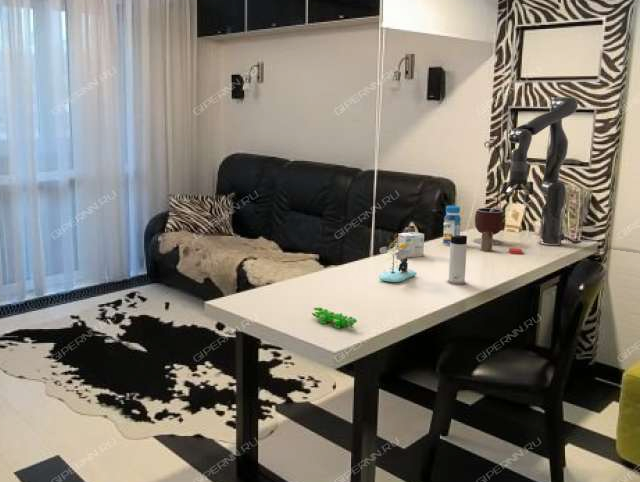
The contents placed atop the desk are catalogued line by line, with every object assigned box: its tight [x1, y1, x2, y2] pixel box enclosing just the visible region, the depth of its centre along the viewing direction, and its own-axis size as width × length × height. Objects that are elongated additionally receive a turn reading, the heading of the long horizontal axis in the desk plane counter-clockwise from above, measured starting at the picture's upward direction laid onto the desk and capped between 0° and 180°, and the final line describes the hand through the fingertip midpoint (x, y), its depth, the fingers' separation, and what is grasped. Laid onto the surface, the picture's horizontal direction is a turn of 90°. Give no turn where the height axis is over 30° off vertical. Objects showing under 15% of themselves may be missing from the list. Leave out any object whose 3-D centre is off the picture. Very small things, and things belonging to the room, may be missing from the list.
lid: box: [508, 247, 523, 255], centre depth 296 cm, size 6×6×2 cm
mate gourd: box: [474, 206, 504, 246], centre depth 317 cm, size 16×14×20 cm
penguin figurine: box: [378, 243, 417, 283], centre depth 253 cm, size 20×11×15 cm, turn 133°
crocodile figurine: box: [311, 306, 358, 329], centre depth 202 cm, size 7×18×4 cm, turn 44°
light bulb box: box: [397, 231, 425, 258], centre depth 291 cm, size 11×7×11 cm, turn 108°
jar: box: [480, 231, 494, 252], centre depth 301 cm, size 5×5×9 cm
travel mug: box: [448, 234, 468, 286], centre depth 246 cm, size 6×7×20 cm
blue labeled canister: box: [442, 205, 462, 247], centre depth 313 cm, size 8×8×20 cm
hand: (516, 202), depth 300 cm, fingers open, 8 cm apart
